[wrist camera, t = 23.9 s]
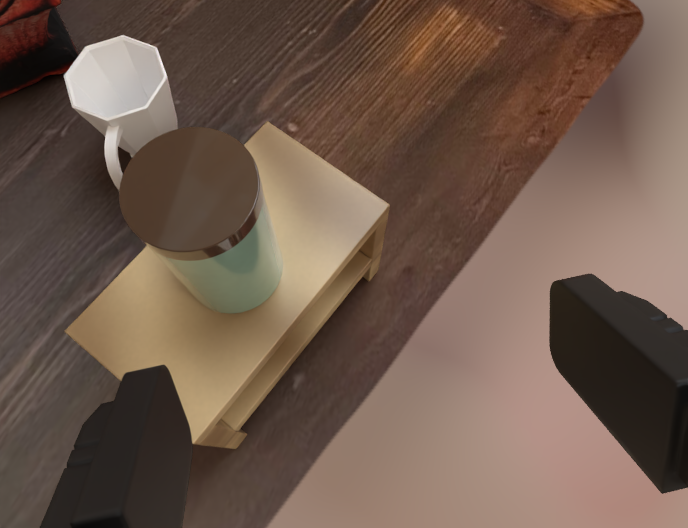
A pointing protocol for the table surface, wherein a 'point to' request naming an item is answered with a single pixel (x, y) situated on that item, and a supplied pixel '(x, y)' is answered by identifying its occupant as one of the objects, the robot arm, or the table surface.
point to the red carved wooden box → (32, 43)
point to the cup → (122, 95)
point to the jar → (204, 216)
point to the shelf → (258, 323)
